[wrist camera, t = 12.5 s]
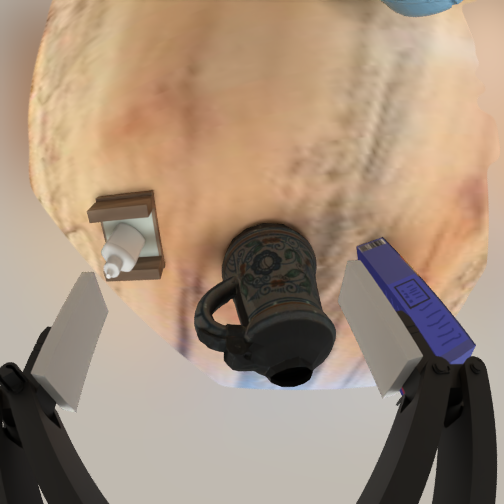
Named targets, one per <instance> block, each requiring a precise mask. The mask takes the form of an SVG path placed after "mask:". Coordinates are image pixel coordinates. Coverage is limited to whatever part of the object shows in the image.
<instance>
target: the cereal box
mask: <svg viewBox="0 0 504 504" xmlns="http://www.w3.org/2000/svg"><path fill="white" fill-rule="evenodd" d="M357 255H358V260H361V262H362V263H363V265H364V266H365V267H366V269H367V270H368V272H369V273H370V274H371V276H372V277H373V279H374V280H375V282H376V283H377V284H378V286H379V287H380V289H381V290H382V292H383V293H384V295H385V296H386V298H387V299H388V301H389V302H390V304H391V305H392V307H393V308H394V310H395V311H400V310H402V311H404V312H405V313H406V314H407V315H409V316H410V317H411V319H412V320H413V322H414V323H415V326H417V328H418V329H419V332H420V333H421V334H422V335H423V337H424V339H425V340H426V342H427V343H428V345H429V347H430V348H431V350H432V351H433V353H434V354H435V356H440V357H443V358H445V359H446V360H447V361H448V362H449V363H450V364H463V363H464V362H465V361H466V359H467V358H469V357H471V354H472V352H473V350H474V348H475V346H476V345H475V344H474V342H473V341H472V339H471V338H470V337H469V335H468V334H467V333H466V331H465V330H464V329H463V327H462V326H461V325H460V324H459V322H458V321H457V320H456V318H455V317H454V316H453V315H452V313H451V312H450V311H449V310H448V309H447V307H446V306H445V305H444V304H443V302H442V301H441V300H440V299H439V298H438V297H437V295H436V294H435V293H434V292H433V291H432V290H431V288H430V287H429V286H428V285H427V284H426V283H425V282H424V280H423V279H422V278H421V277H420V276H419V275H418V274H417V273H416V272H415V271H414V269H413V268H412V267H411V266H410V265H409V264H408V263H407V262H406V261H405V260H404V259H403V258H402V257H401V256H400V254H399V253H398V252H397V251H396V250H395V249H394V248H393V247H392V246H391V245H390V244H389V243H388V242H387V241H386V240H385V239H384V238H383V237H382V238H379V239H376V240H373V241H371V242H368V243H365V244H362V245H360V246H357ZM400 393H401V395H402V396H403V394H404V393H405V391H404V389H403V387H402V388H401V389H400Z"/></svg>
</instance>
